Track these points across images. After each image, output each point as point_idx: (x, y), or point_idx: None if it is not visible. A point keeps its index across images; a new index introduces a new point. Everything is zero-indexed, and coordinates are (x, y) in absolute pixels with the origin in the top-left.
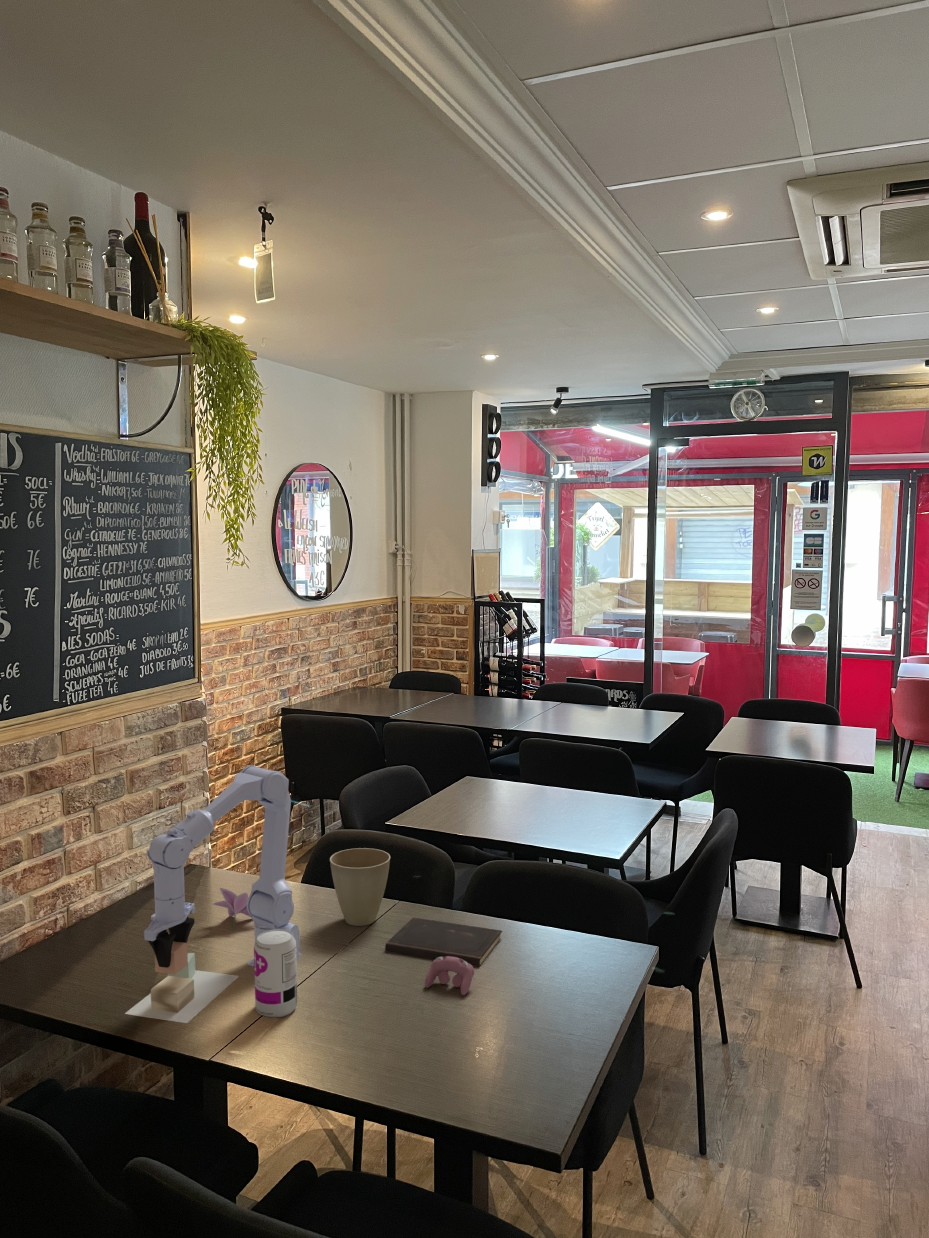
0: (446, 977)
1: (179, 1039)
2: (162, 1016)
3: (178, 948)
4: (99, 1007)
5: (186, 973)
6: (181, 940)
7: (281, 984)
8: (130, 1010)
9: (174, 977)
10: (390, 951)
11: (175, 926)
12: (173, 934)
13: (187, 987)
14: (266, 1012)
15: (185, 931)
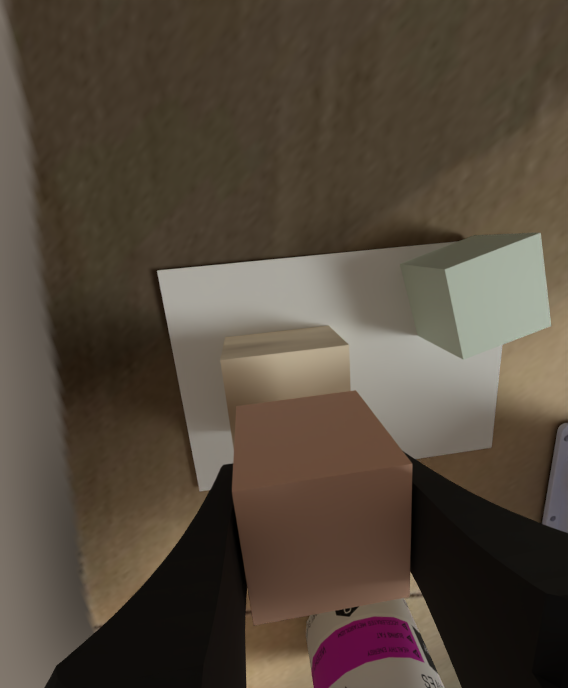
0: None
1: (129, 516)
2: (199, 404)
3: (318, 605)
4: (162, 120)
5: (434, 338)
6: (421, 567)
7: None
8: (184, 275)
9: (343, 379)
10: None
11: (500, 655)
12: (447, 547)
13: None
14: (307, 642)
15: (465, 682)
